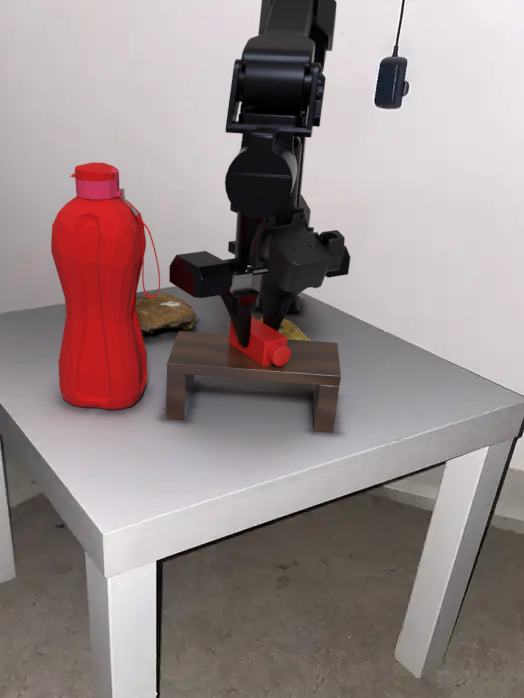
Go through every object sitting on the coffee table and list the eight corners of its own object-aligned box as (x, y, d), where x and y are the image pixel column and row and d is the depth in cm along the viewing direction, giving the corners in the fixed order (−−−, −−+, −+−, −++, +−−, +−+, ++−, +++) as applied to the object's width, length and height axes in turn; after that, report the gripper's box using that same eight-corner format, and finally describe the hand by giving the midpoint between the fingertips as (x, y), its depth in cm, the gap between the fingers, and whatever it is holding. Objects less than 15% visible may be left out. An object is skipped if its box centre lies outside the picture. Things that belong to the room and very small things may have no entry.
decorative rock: (125, 357, 99) (210, 334, 107) (126, 327, 96) (213, 306, 105) (74, 326, 105) (158, 307, 114) (74, 298, 103) (160, 280, 112)
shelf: (177, 383, 92) (178, 331, 88) (330, 395, 90) (337, 342, 86) (166, 418, 84) (166, 362, 81) (333, 432, 82) (341, 376, 79)
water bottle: (151, 418, 84) (151, 177, 71) (53, 409, 85) (36, 170, 72) (165, 382, 92) (168, 159, 79) (76, 374, 93) (64, 153, 80)
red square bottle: (228, 343, 86) (229, 319, 84) (249, 339, 87) (251, 315, 85) (269, 371, 79) (271, 345, 78) (291, 366, 81) (294, 341, 79)
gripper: (228, 222, 65) (219, 390, 73) (397, 203, 73) (372, 356, 81) (167, 194, 73) (165, 348, 81) (325, 179, 81) (309, 321, 89)
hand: (256, 343), depth 83 cm, fingers closed on red square bottle, 3 cm apart
